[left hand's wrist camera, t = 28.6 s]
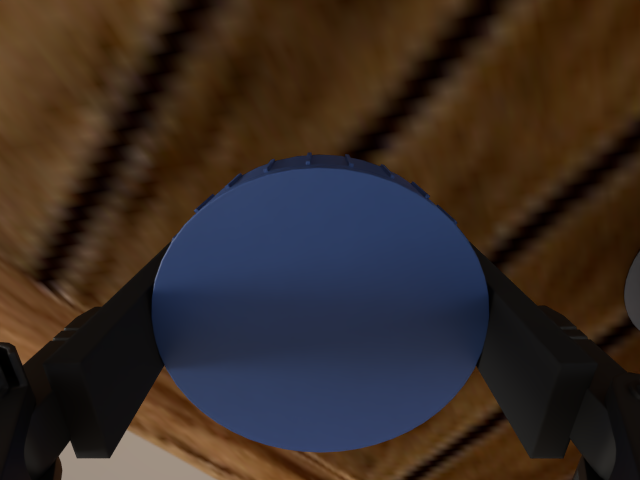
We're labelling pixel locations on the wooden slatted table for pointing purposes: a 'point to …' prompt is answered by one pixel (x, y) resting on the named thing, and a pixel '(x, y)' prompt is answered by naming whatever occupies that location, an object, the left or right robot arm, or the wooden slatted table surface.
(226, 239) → the lid
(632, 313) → the jar
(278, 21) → the wooden slatted table surface
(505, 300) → the left robot arm
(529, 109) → the wooden slatted table surface
